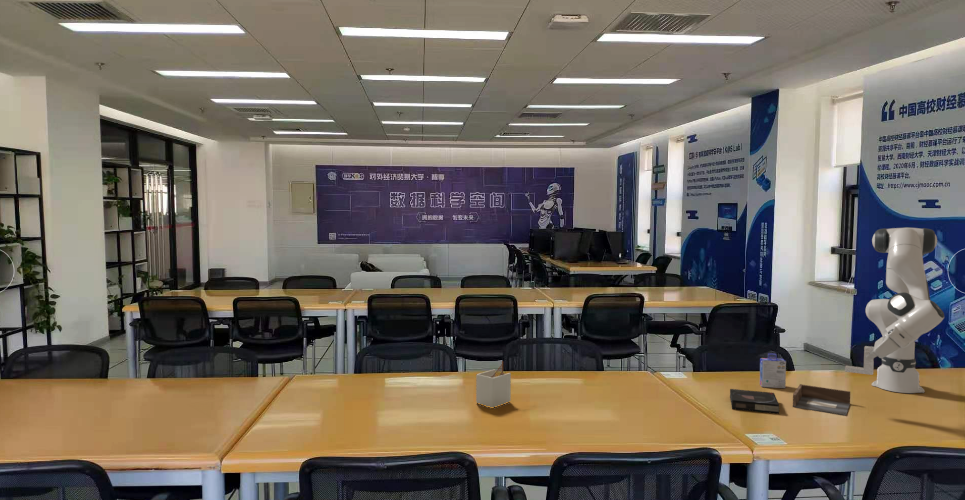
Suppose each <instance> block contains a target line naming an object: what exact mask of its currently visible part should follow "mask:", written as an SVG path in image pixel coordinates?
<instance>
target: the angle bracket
mask: <svg viewBox="0 0 965 500" xmlns="http://www.w3.org/2000/svg"><path fill="white" fill-rule="evenodd" d="M863 350H864V351H863V367H860V366H854V365H853V366H852V365H845V367H844V372H848V373H854V374H855V373H856V374H864V375H871V376H872V375H874V363H875V362H874V361H875V358H873V359H871V360H870V361H867V360H866V359H865V357H866V356H867V355H868V354H870V353H871V352H872V351H873V350H874V346H869V345H868V346H867V345H865V346H864V347H863Z"/></svg>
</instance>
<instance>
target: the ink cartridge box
mask: <svg viewBox="0 0 965 500" xmlns="http://www.w3.org/2000/svg"><path fill="white" fill-rule="evenodd" d="M786 369H787V360H785V359H784V358H778V356H777V353H770V352H768V353H767V358H765V357H760V358H759V385H760V386H761V387H762V388H772V389H773V388H775V389H776V388H777V389H786V383H787V382H786V378H787V375H786V372H787V371H786Z"/></svg>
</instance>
